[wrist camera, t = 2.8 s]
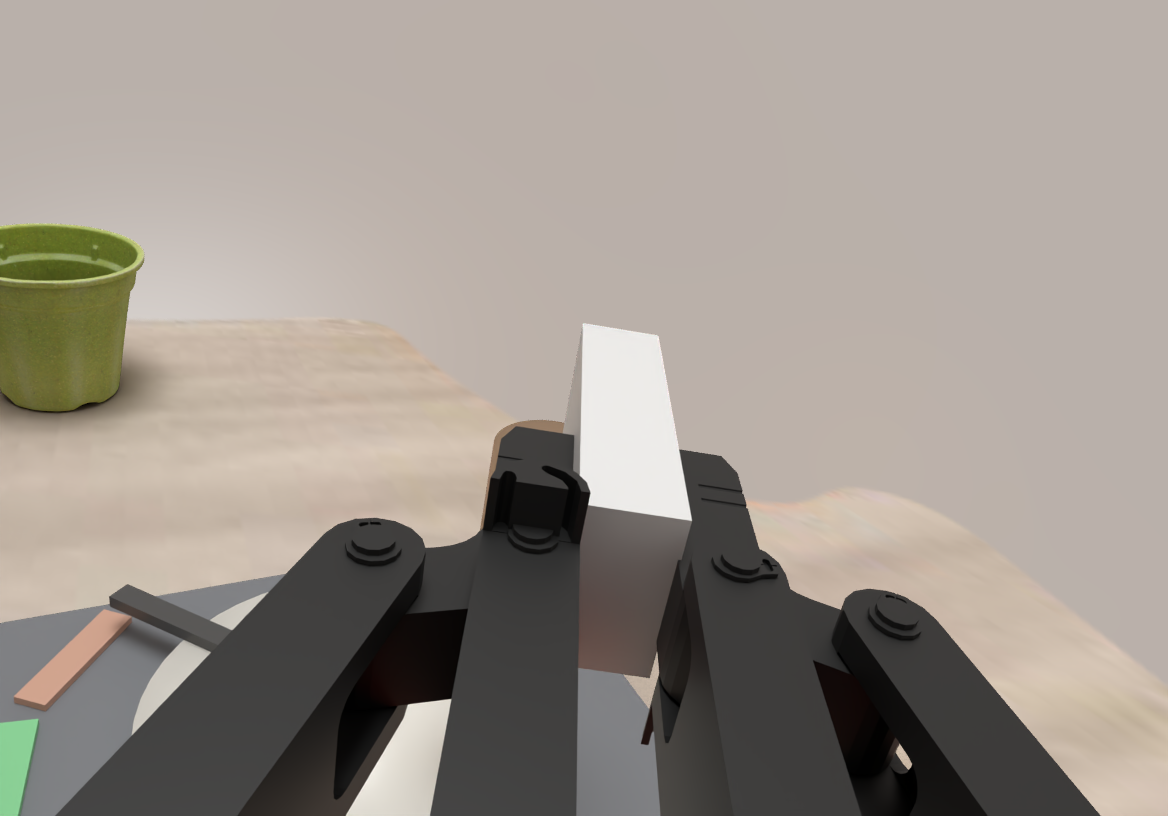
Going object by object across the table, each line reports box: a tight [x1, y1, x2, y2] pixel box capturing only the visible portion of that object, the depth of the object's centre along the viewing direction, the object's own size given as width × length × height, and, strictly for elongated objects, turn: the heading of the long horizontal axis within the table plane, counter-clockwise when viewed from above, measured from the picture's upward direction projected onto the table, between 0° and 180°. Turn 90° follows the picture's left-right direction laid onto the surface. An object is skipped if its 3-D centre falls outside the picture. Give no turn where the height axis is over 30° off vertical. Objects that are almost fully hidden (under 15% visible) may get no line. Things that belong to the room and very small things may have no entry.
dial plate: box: [0, 574, 661, 816], centre depth 33 cm, size 20×25×2 cm
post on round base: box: [109, 420, 564, 816], centre depth 31 cm, size 16×15×14 cm
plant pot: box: [0, 224, 144, 411], centre depth 52 cm, size 9×9×9 cm
